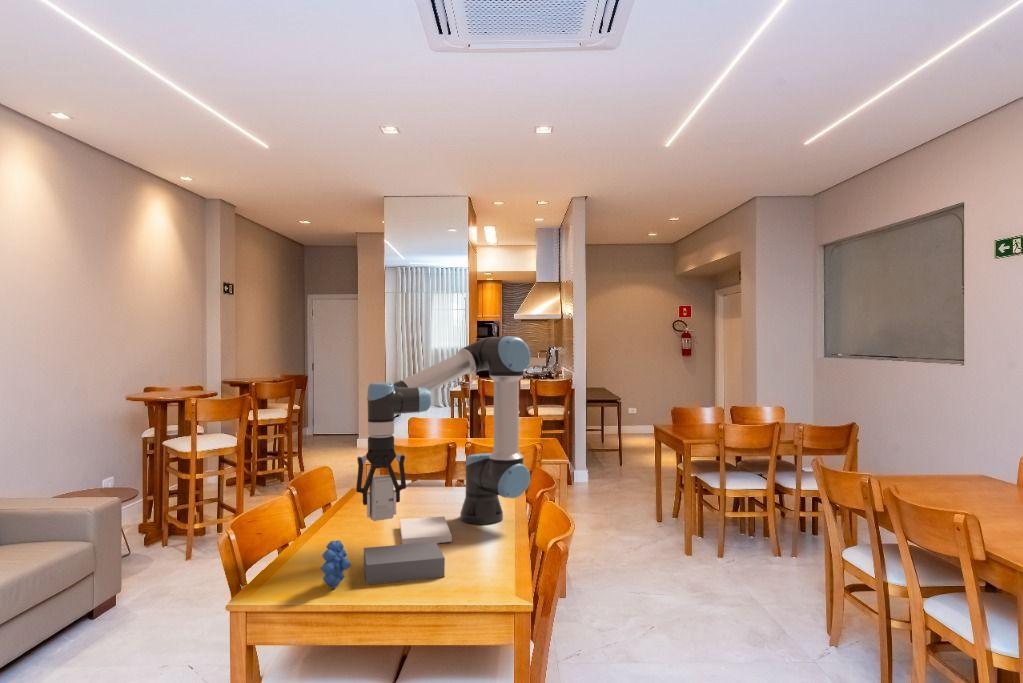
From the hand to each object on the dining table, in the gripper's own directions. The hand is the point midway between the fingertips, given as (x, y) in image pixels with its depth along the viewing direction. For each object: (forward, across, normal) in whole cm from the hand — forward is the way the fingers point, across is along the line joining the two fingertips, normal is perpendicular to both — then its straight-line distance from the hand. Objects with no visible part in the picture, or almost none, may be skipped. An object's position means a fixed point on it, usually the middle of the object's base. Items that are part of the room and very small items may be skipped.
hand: (381, 514), depth 176 cm
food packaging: (+13, -15, -16) cm, 25 cm away
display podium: (+12, -4, +15) cm, 20 cm away
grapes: (+12, +13, +22) cm, 28 cm away
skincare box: (+1, 0, 0) cm, 1 cm away
